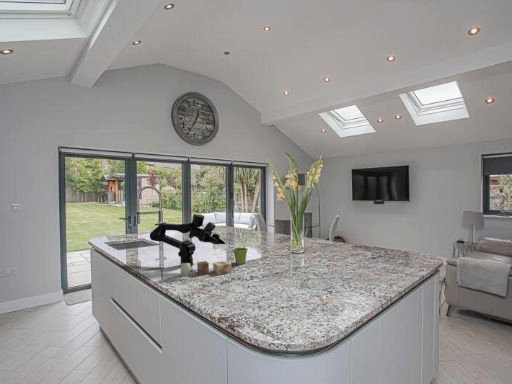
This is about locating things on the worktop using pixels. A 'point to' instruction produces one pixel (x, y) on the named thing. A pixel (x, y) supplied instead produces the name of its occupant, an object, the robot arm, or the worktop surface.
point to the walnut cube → (203, 268)
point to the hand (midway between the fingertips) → (221, 242)
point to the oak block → (222, 267)
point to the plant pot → (240, 255)
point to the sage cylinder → (185, 269)
